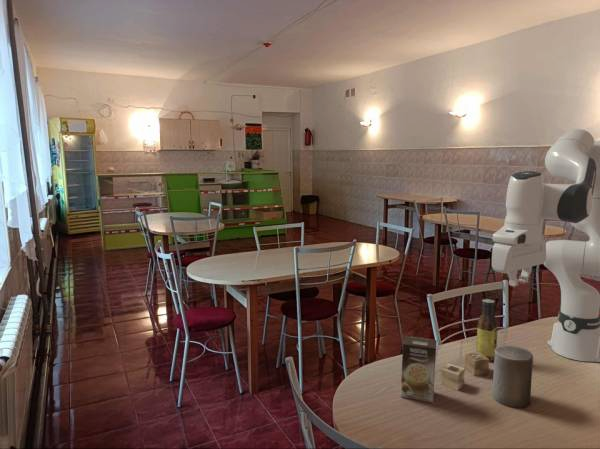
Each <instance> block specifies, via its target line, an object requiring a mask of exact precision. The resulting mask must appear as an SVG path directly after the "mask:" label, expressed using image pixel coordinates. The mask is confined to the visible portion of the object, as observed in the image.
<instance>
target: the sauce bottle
mask: <svg viewBox="0 0 600 449" xmlns="http://www.w3.org/2000/svg"><path fill="white" fill-rule="evenodd" d="M495 306H496V301H495V300H493V299H488V298H485V299H482V300H481V308H482V309H481V314H480V316H479V317H478V320H477V326H476V327H477V329H476V351H475V353H481V354H482V355H484V356H485V357H487V358H488V359H489V362H492V361H493V362H494V355H495V348H496V347H498V346H497V345H498V327H499V325H498V321H497V318H496V314H495Z"/></svg>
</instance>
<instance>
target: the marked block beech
mask: <svg viewBox="0 0 600 449" xmlns="http://www.w3.org/2000/svg"><path fill="white" fill-rule="evenodd" d="M465 370H466V369H465V367H461V366H457V365H454V364H451V363H447V364H446V365H445V366H444V367H443V368H442V369H441V373H440V375H441V377H440V386H442V387H446V388H449V389H452V390H454V391H459V390H460V389H461V388H462V387H463V386H464V385H465V374H466V373H465V372H466V371H465Z"/></svg>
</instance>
